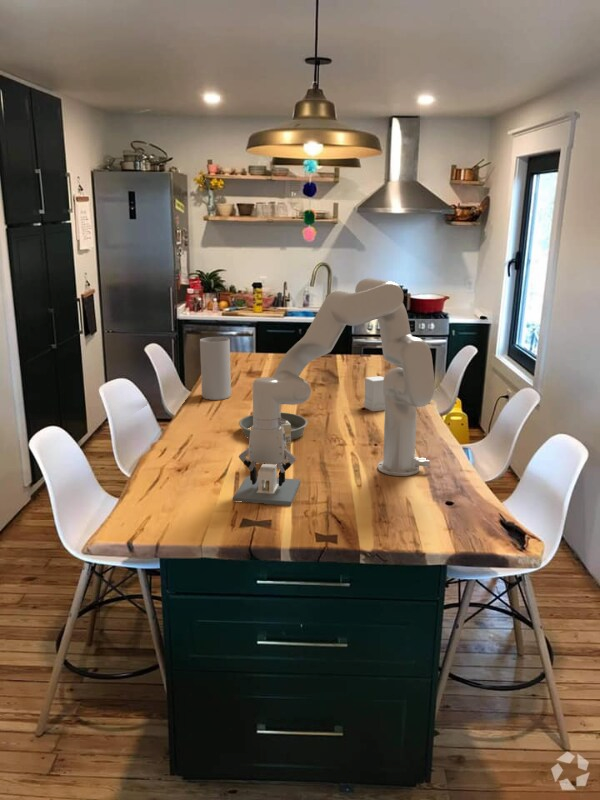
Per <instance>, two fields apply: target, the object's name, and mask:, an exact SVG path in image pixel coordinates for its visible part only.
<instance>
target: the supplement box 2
mask: <svg viewBox="0 0 600 800" xmlns="http://www.w3.org/2000/svg"><path fill="white" fill-rule="evenodd" d="M384 377H385V376H384ZM384 377H383V376H381V375H379V376H378V375H377V376H369V377H368V376H367V377H364V405H363V407H364V408H365V409H368V410H369V411H370V412H380V411H385V401H384V394H383V380H384Z"/></svg>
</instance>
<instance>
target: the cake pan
mask: <svg viewBox="0 0 600 800" xmlns="http://www.w3.org/2000/svg"><path fill="white" fill-rule="evenodd" d="M281 418H282V419H285V420H286V421H288V422H289V423H290V424H291V441H293V439H294V440H296V439H299V438H301V437H302V436H303V434H304V430H305V427H307V425H308V420H307V419H306V418H305V417H303V416H302V415H298V414H294V413H290V412H281ZM238 426H239V427H240V428H241V429H242V432H243V435H244V436H245V437H246V438H247V437H248V438H247V439H249V437H250V431H251V430H250V429H248V428H250V427H252V426H253V414H250V415H246V416H244V417H242V418H241V419H240V420H239V422H238Z"/></svg>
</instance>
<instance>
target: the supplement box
mask: <svg viewBox="0 0 600 800" xmlns="http://www.w3.org/2000/svg"><path fill="white" fill-rule="evenodd" d="M281 426H283V427H284V431H285V438H286V449H287V450H288V451H289V452H290V453H291V451H292V449H291V448H292V447H291V446H292V445H291V443H292V440H291V424H290V423H289V422H288V421H286V424H283V425H281ZM291 454H292V453H291ZM288 461H289V458H287V457H286V458H285V459H284V463H285V464H286V463H287V462H288ZM265 464H268V463H265ZM274 465H276V464H274Z"/></svg>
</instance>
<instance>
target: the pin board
mask: <svg viewBox="0 0 600 800" xmlns="http://www.w3.org/2000/svg"><path fill="white" fill-rule="evenodd" d="M300 485H301V479H295V478H285V482H283V484H282V486H279V477H277V485H276V487H275V489H274V491H273V493H270V491H269V481H268V480H266V482H265V487H264V489H263V491H262V492H259V490H258V476H257V481H256V483H255V484H254V485H252V480H250V475H249V476H248V475H247V476H246V477H245V478H244V479H243V481H242V483H241V484H240V486H239V487H238V489H237V491H236V492H235V493H234V495H233V497H232V502H233V501H242V502H252V503H251V504H257V503H264V504H263V505H273V504H274V506H287V507H289V506H292V505H293V503H294V500H295V497H296V495H297V492H298V489H299V488H300ZM242 502H241V503H242Z"/></svg>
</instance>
